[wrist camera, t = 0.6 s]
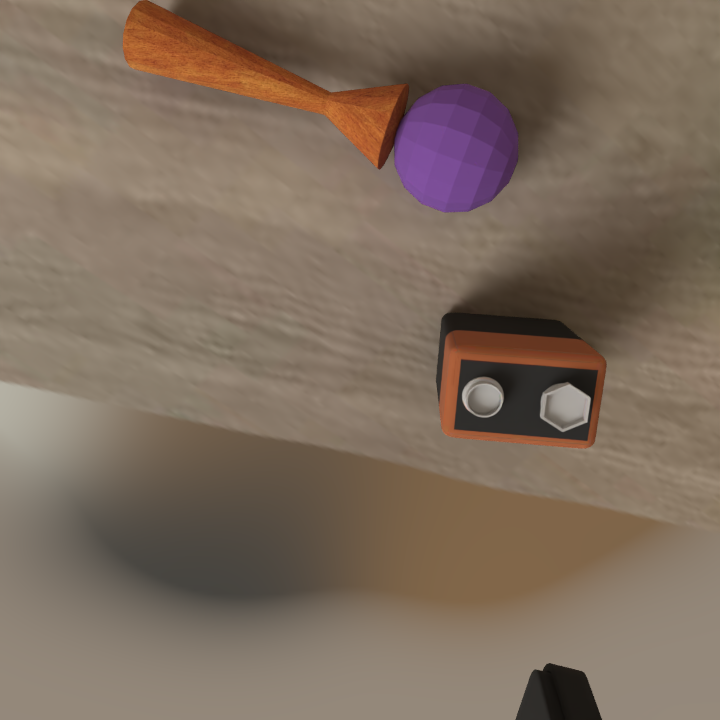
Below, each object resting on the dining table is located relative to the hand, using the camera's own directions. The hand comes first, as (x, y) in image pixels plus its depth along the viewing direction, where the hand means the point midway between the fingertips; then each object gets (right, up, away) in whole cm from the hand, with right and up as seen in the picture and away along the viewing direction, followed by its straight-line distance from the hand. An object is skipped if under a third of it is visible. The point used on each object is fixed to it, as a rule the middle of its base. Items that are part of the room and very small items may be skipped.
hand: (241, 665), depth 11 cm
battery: (+10, +5, +27) cm, 29 cm away
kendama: (0, +18, +25) cm, 31 cm away
